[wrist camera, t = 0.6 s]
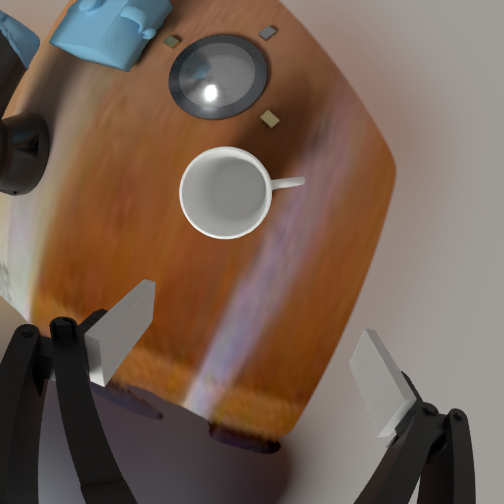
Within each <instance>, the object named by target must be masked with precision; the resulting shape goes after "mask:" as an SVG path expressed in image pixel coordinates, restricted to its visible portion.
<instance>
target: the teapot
mask: <svg viewBox="0 0 504 504" xmlns="http://www.w3.org/2000/svg"><path fill="white" fill-rule="evenodd" d="M172 9H173V6H172V5H171V3H170V1H169V0H77V1H76V2H75V3H74V4H73V5H71V6H70V8H69V9H68V11H67V15H66V16H65V17H64V19H63V20H62V22H61V23H60V25H59V26H58V28H57V29H56V31H55V33H54V34H53V36H52V38H51V39H50V41H49V43H50V44H53V45H55V46H57V47H59V48H61V49H63V50H65V51H67V52H69V53H71V54H73V55H75V56H77V57H78V58H80V59H82V60H85V61H89V62H93V63H97V64H101V65H105V66H109V67H112V68H116V69H119V70H123V71H126V72H129V71H130V69H131V68H132V66H133V64H134V63H135V62H136V61H138V60H139V58H140V57H141V52H142V50H143V49H144V47H145V46H146V44H147V43H148V42H149V40H150V39H151V38H153V37H154V36H155V34H156V30H158V29H159V28H161V27H162V25H163V23H164V20H165V18H166V17H167V16H168V15H169V13H170V12H171V11H172Z"/></svg>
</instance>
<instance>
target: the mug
mask: <svg viewBox="0 0 504 504" xmlns="http://www.w3.org/2000/svg"><path fill="white" fill-rule="evenodd" d="M304 183H305V178H304V177H303V176H301V177H292V178H284V179H276V180H271V179H270V176H269V174H268V172H267V170H266V169H265V167H264V166H263V165H262V163H261V162H260V161H259V160H258V159H257V158H256V157H254V156H253V155H252V154H250V153H248V152H247V151H244V150H242V149H239V148H235V147H217V148H213V149H210V150H207V151H205V152H203V153H202V154H200V155H199V156H197V157H196V158H195V159H194V160H193V161H192V162H191V163H190V164H189V166H188V167H187V168H186V170H185V172H184V174H183V177H182V179H181V183H180V192H179V194H180V203H181V206H182V209H183V212H184V214H185V216H186V217H187V219H188V220H189V222H190V223H191V224H192V225H193V226H194V227H195V228H196V229H198V230H199V231H200V232H202V233H204V234H206V235H208V236H211V237H214V238H219V239H232V238H237V237H240V236H243V235H245V234H247V233H249V232H251V231H252V230H254V229H255V228H256V227H257V226H258V225H259V224H260V223H261V222H262V221H263V219H264V218H265V216H266V214H267V212H268V210H269V207H270V204H271V199H272V190H274V189H278V188H284V187H291V186H297V185H302V184H304Z"/></svg>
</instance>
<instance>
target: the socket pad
mask: <svg viewBox="0 0 504 504" xmlns="http://www.w3.org/2000/svg"><path fill="white" fill-rule="evenodd" d="M275 34H276V30H274V29H273V28H271V27H270V26H268V27H266V28H265V29H264V30H262V31H261V32H260V33H259V36H260V37H261V38H262V39H264V40H265V41H267V40H268V39H270V38H271V37H272V36H274V35H275ZM163 42H164V43H165V44H166V45H167V46H169V47H170V48H172V49H174V48H176V47H177V46H178V45H179V44H180V42H179V41H178V40H177V39H175V38H174V37H172V36H171V35H170V36H169V37H167V38H166V39H165V40H164V41H163ZM266 81H267V66H266V62H265V59H264V57H263V55H262V54H261V52H260V51H259V50H258V49H257V48H256V47H255V46H254V45H253V44H252V43H250V42H249V41H247V40H245V39H243V38H240V37H237V36H232V35H214V36H209V37H205V38H203V39H200V40H198V41H196V42H194V43H192V44H191V45H189V46H188V47H187V48H185V49H184V50H183V51H182V52H181V53H180V54H179V56H178V57H177V58H176V60H175V61H174V63H173V65H172V67H171V70H170V74H169V89H170V93H171V95H172V97H173V99H174V101H175V102H176V103H177V105H178V106H179V107H180V108H181V109H183V110H184V111H185V112H187V113H188V114H190V115H192V116H194V117H197V118H200V119H204V120H223V119H227V118H231V117H234V116H237V115H239V114H241V113H243V112H244V111H246V110H247V109H249V108H250V107H251V106H252V105H253V104H254V103H255V102H256V101H257V100H258V99H259V97H260V96H261V94H262V92H263V91H264V88H265V85H266ZM260 119H261V120H262V121H264V122H265V123H266V124H267V125H268V126H269V127H270V128H271V129H272V128H273V127H274V126H275V125H276V124H277V123H279V121H280V120H279V119H278V118H276V117H275V116H274V115H273V114H272V113H271V112H270V111H269V110H267V111H266V112H265V113H264V114H263V115H262V116H261V117H260Z"/></svg>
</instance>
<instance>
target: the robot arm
mask: <svg viewBox="0 0 504 504" xmlns="http://www.w3.org/2000/svg"><path fill="white" fill-rule="evenodd" d="M39 46H40V40H39V37H38V36H37V35H36V34H35V33H34V32H32V31H31V30H30V29H29V28H27V27H26V26H25V25H23V24H22V23H20V22H19V21H17V20H16V19H14V18H12V17H10V16H9V15H7V14H6V13H4V12H3V11H1V10H0V192H3V193H6V194H9V195H13V196H17V195H23V194H27V193H29V192H30V191H32V190H33V189H34V188H35V187H36V185H37V184H38V182H39V181H40V179H41V177H42V175H43V172H44V170H45V167H46V163H47V158H48V152H49V134H48V129H47V126H46V123H45V121H44V120H43V118H42V117H41V116H39V115H37V114H33V113H21V114H19V115H15V116H11V117H8V118H5V119H2V117H3V115H4V112H5V110H6V108H7V106H8V104H9V102H10V100H11V98H12V95H13V94H14V92H15V90H16V88H17V86H18V84H19V82H20V81H21V79H22V77H23V75H24V74H25V72H26V71H27V70H28V68H29V64H30V63H31V61H32V59H33V57H34V56H35V54H36V52H37V51H38V49H39ZM1 119H2V120H1ZM155 284H156V282H153V281H149V280H146V279H144V280H143V281H141V282H140V283H139V284H138V285H137V286H136V287H135V288H134V289H132V290H131V291H130V292H129V293H128V294H127V295H126V296H125V297H124V298H122V299H121V300H120V301H119V302H118V303H117V304H116V305H115V306H114V307H113V308H112V309H110V310H109V311H107V310H104V309H100V310H97V311H95V312H93V313H92V314H91V315H90V316H89V317H87V318H86V319H85V320H84V321H83V322H82V323H81V324H80V325H77V323H76V321H75V320H74V319H72V318H69V317H57V318H55V319H53V320H52V321H51V322H50V325H49V326H50V332H51V338H49V337H44V336H40V333H39V330H38V328H37V327H36V326H35V325H31V324H24V325H21V326H19V327H18V328H17V329H16V330H15V332H14V334H13V336H12V339H11V341H10V343H9V345H8V348H7V350H6V352H5V354H4V357H3V359H2V362H1V364H0V504H39V503H38V501H39V500H38V455H39V439H40V430H41V421H42V414H43V406H44V400H45V394H46V389H47V384H48V380H52V381H56V387H57V393H58V400H59V405H60V410H61V416H62V420H63V425H64V429H65V434H66V438H67V442H68V446H69V449H70V453H71V456H72V460H73V463H74V466H75V469H76V472H77V475H78V478H79V481H80V484H81V487H80V488H81V492H82V495H83V497H84V500H85V502H86V504H137V502H136V500H135V498H134V496H133V494H132V492H131V490H130V489H129V487H128V485H127V483H126V481H125V480H124V478H123V476H122V474H121V472H120V471H119V468H118V466H117V463H116V462H115V459H114V456H113V454H112V452H111V449H110V447H109V444H108V442H107V439H106V436H105V434H104V431H103V428H102V425H101V422H100V419H99V416H98V413H97V410H96V407H95V404H94V400H93V397H92V393H91V390H90V386H89V382H88V378H87V374H88V373H90V379H91V381H92V382H94V383H97V384H99V385H101V386H103V387H105V386H106V384H107V383H108V381H109V380H110V378H111V377H112V376H113V374H114V373H115V371H116V370H117V369H118V367H119V366H120V364H121V363H122V362H123V360H124V359H125V357H126V356H127V355H128V353H129V352H130V351H131V349H132V348H133V346H134V345H135V344H136V342H137V341H138V340H139V338H140V337H141V336H142V334H143V333H144V332H145V330H146V329H147V328H148V326H149V325H150V324H151V322H152V319H153V306H154V294H155ZM349 365H350V367H351V370H352V372H353V375H354V377H355V380H356V383H357V385H358V388H359V391H360V393H361V396H362V398H363V401H364V404H365V407H366V409H367V412H368V415H369V417H370V420H371V423H372V426H373V429H374V431H375V434H376V437H388V436H389V435H390V434H391V433H392V432H393V430H394V429H395V430H396V433H397V435H396V436H395V437H394V438H393V439H392V440H391V442H390V443H389V444H388V445H387V446H386V448H388V449H387V451H386V453H385V455H384V457H383V458H382V460H381V462H380V464H379V466H378V467H377V469H376V470H375V472H374V474H373V475H372V477H371V479H370V480H369V482H368V483H367V485H366V486H365V488H364V489H363V491H362V492H361V494H360V495H359V497H358V498H357V499H356V501H355V502H354V504H408V503H409V501H410V498H411V496H412V494H413V491H414V489H415V487H416V484H417V482H418V480H419V477H420V485H419V493H418V499H417V504H476V495H475V493H476V492H475V472H474V461H473V451H472V443H471V436H470V431H469V425H468V419H467V416H466V415H465V413H464V412H463V411H462V410H459V409H451V411H450V412H449V413H448V414H447V415H444V414H439V412H438V410H437V408H436V407H435V406H433V405H432V404H430V403H426V402H423V400H422V398H421V397H420V395H419V394H418V392H417V390H416V389H415V387H414V385H413V384H412V382H411V380H410V378H409V377H408V376H407V375H406V374H405V373H404V372H403V371H400V370H399V368H398V367H397V365H396V363H395V362H394V360H393V358H392V357H391V355H390V353H389V352H388V351H387V349H386V347H385V346H384V344H383V342H382V341H381V339H380V338H379V336H378V334H377V333H376V331H375V330H369V329H365V330H364V332H363V334H362V336H361V338H360V341H359V343H358V345H357V347H356V349H355V351H354V353H353V355H352V358H351V360H350V362H349ZM420 475H421V476H420Z"/></svg>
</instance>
